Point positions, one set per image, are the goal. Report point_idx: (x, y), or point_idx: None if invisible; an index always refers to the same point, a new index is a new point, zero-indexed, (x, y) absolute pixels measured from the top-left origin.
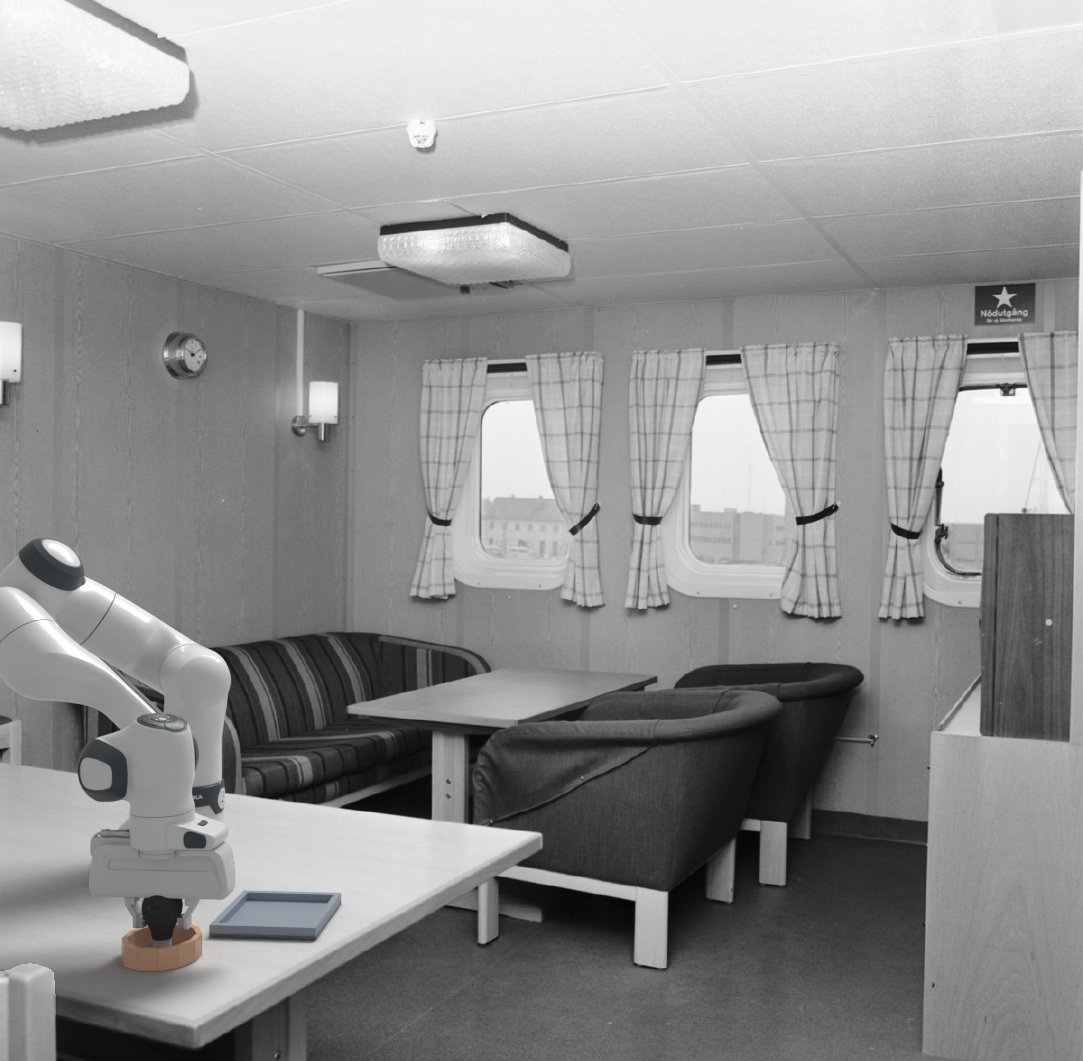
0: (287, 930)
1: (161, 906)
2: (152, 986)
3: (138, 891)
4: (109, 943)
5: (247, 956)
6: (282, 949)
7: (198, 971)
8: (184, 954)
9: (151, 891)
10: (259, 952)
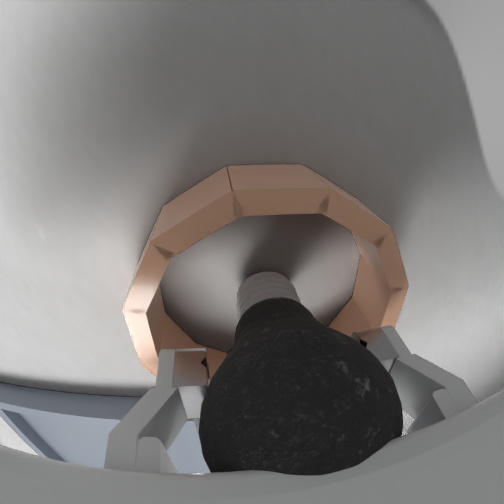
0: (27, 401)
1: (283, 411)
2: (186, 36)
3: (449, 449)
4: (413, 328)
5: (32, 310)
6: (2, 347)
7: (85, 190)
8: (146, 245)
9: (381, 480)
10: (26, 332)
